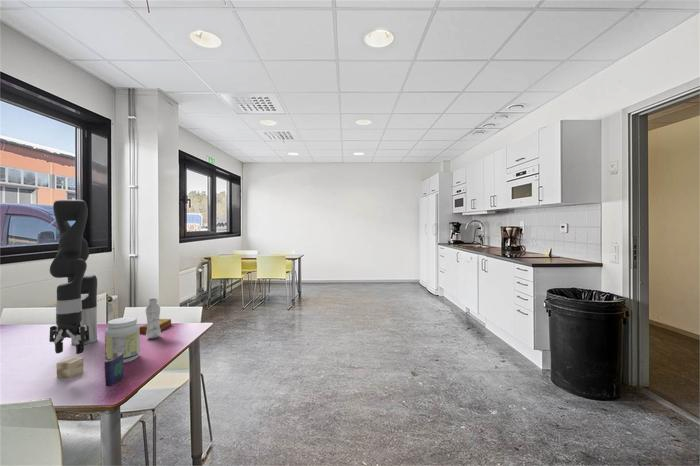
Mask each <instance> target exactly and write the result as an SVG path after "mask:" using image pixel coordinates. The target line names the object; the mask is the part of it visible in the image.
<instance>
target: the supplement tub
mask: <svg viewBox="0 0 700 466" xmlns="http://www.w3.org/2000/svg"><path fill="white" fill-rule="evenodd" d="M106 324H107V325H106V327H107V328H106V329H105V331H104V362H105V361H106V360H108V358H109V359H110V358H111V357H112V355H113V354H114V353H112V352H119V353H123V364H126V363H129V362H133V361H134V360H136V359H137V358H138V357H140V354H141V353H140V352H141V351H140V349H141V348H140V347H141V346H140V344H141V343H140V342H141V341H140V339H141V337H140V335H141V334H140V331H139V329H140V325H139V324H138V319H137V317H133V316H129V317H128V316H126V317H117V318H114V319H110V320H109V321H108V322H107V323H106Z"/></svg>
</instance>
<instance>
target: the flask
mask: <svg viewBox="0 0 700 466" xmlns="http://www.w3.org/2000/svg"><path fill="white" fill-rule="evenodd" d="M112 353H114V354H113V355H112V357H111V358H110V359H109V358H108V360H106V361H105V360H104V379H105V382H104V383H105V386H110V387H112V386H114V385H116V384H117V383H118V382H119V381H121V380H122V379H123V378H124V375H125V372H124V363H123V353H119V352H112ZM116 382H117V383H116ZM115 383H116V384H115ZM113 384H114V385H113ZM111 385H112V386H111Z"/></svg>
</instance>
